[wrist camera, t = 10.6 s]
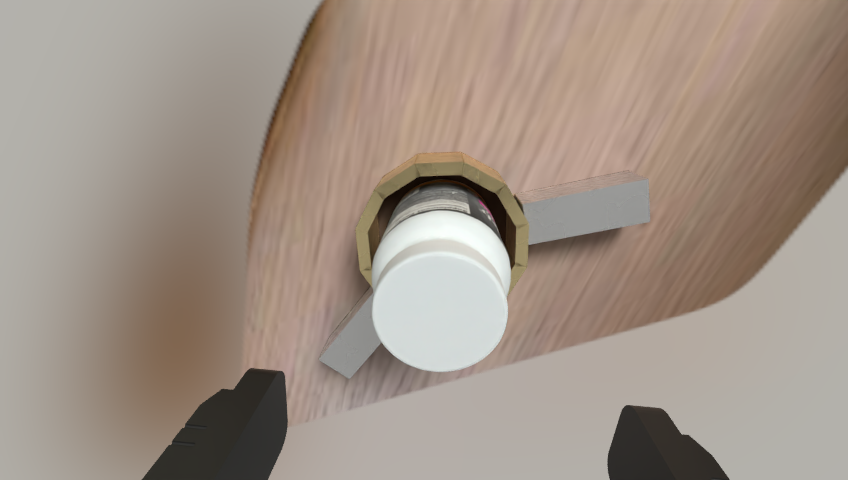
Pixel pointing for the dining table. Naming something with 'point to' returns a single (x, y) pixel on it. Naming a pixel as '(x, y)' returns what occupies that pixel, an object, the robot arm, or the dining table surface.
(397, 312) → the pill bottle
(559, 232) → the stand
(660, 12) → the dining table surface
